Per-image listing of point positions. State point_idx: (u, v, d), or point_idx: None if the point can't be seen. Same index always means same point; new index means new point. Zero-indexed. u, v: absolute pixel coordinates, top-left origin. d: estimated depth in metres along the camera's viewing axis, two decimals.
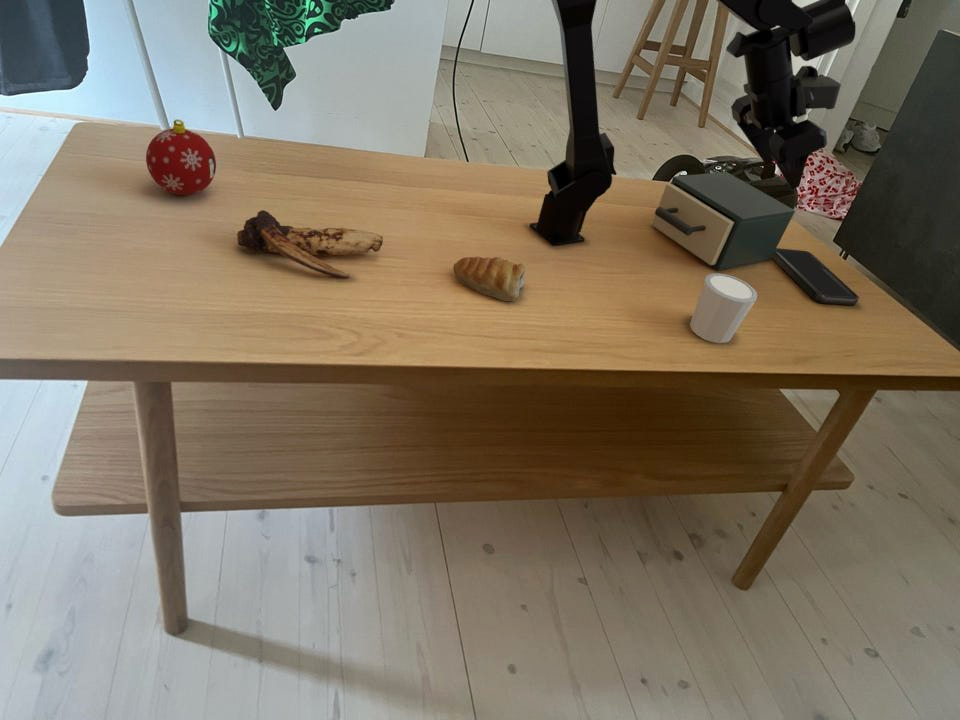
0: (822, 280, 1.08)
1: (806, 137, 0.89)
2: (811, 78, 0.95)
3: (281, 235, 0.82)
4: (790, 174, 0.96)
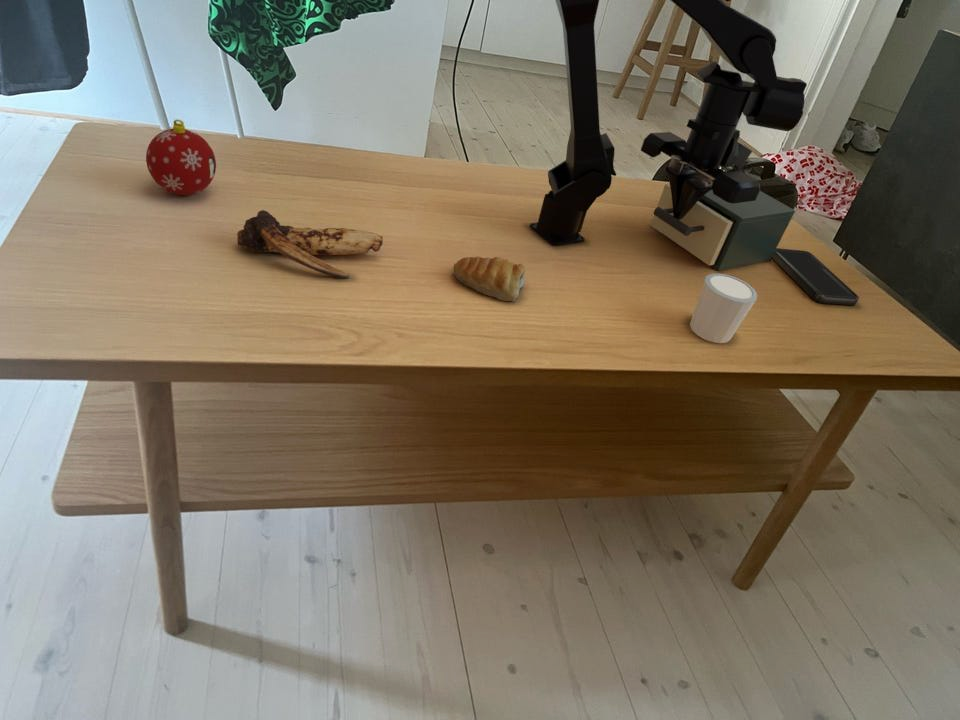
0: (822, 280, 1.08)
1: (751, 186, 0.94)
2: None
3: (281, 235, 0.82)
4: (687, 204, 1.02)
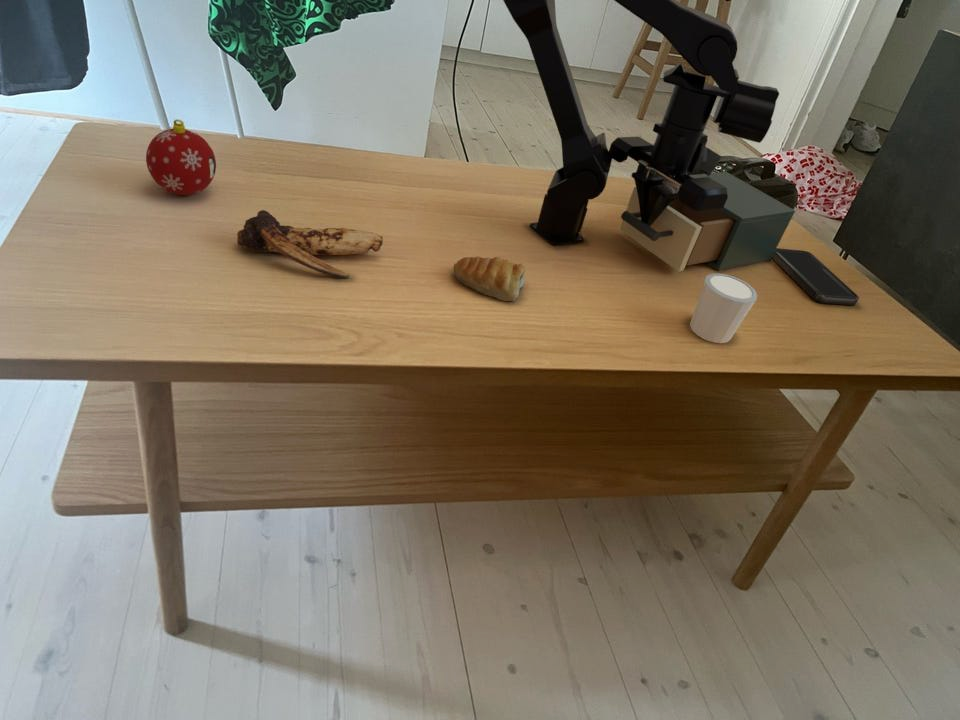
0: (822, 280, 1.08)
1: (719, 193, 0.90)
2: None
3: (281, 235, 0.82)
4: (654, 211, 0.98)
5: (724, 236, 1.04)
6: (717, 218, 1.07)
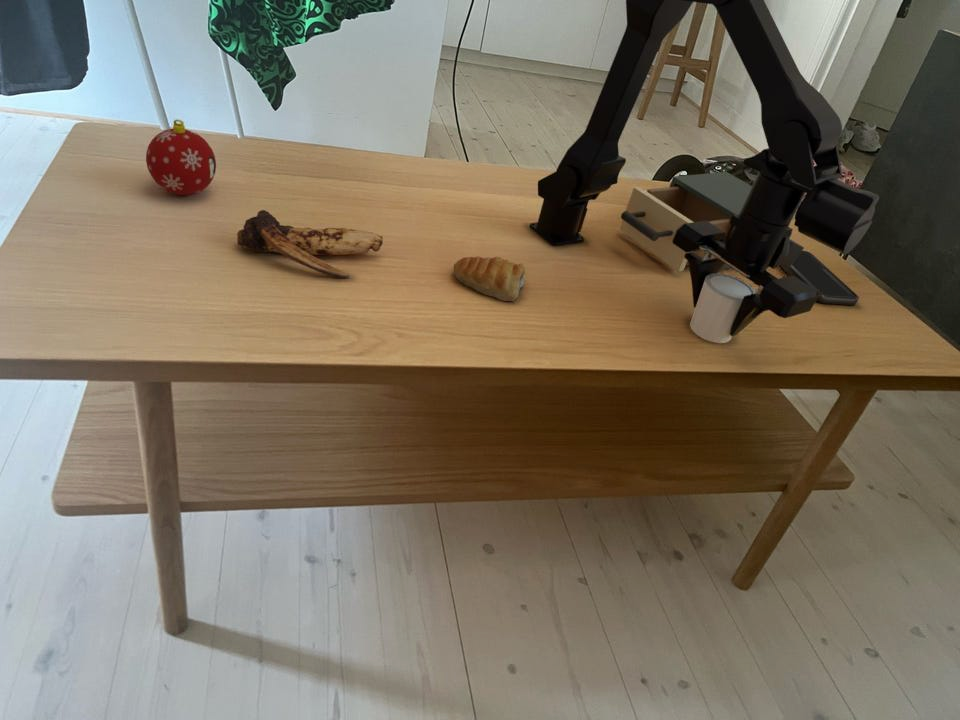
0: (822, 280, 1.08)
1: (808, 297, 0.79)
2: None
3: (281, 235, 0.82)
4: (745, 321, 0.85)
5: None
6: (717, 218, 1.07)
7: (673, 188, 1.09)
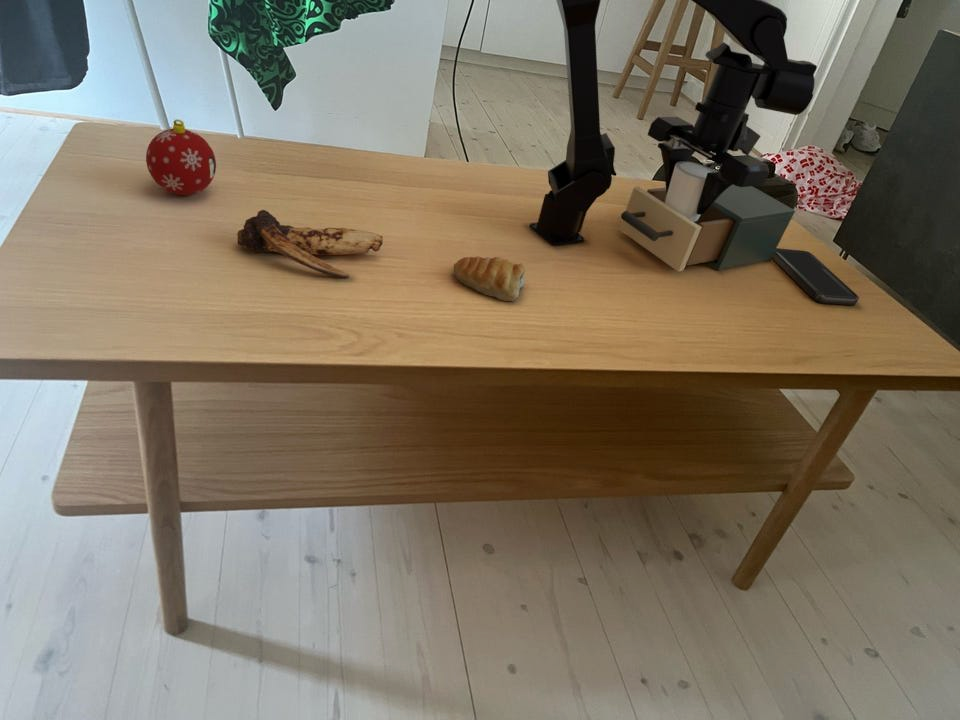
0: (822, 280, 1.08)
1: (760, 169, 0.92)
2: None
3: (281, 235, 0.82)
4: (709, 198, 0.99)
5: (724, 236, 1.04)
6: (717, 218, 1.07)
7: None
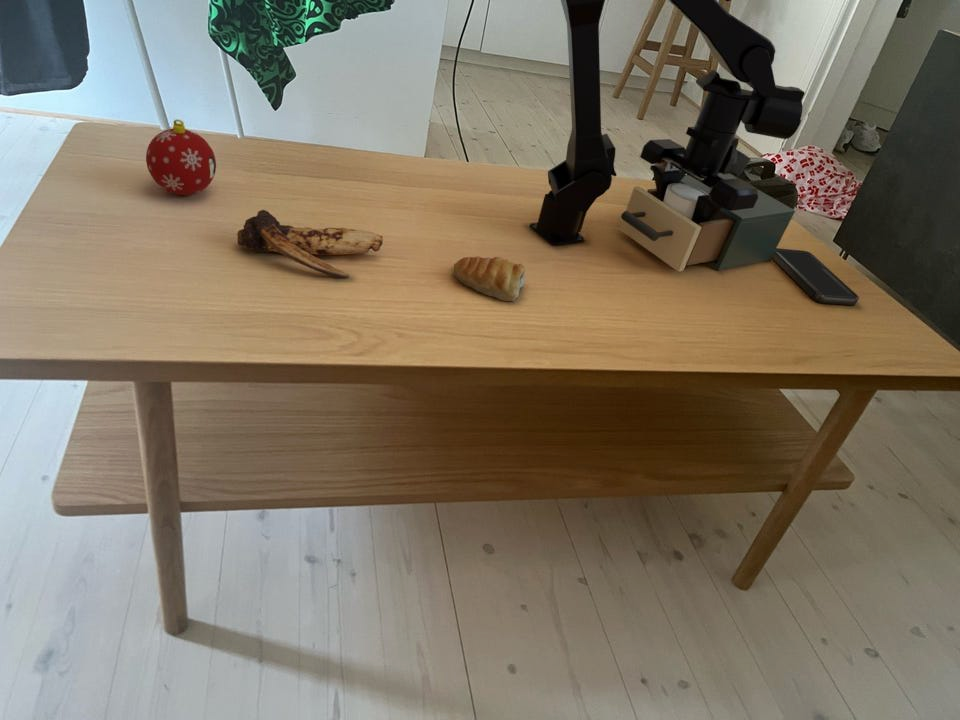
0: (822, 280, 1.08)
1: (750, 193, 0.94)
2: None
3: (281, 235, 0.82)
4: (700, 220, 1.01)
5: (724, 236, 1.04)
6: (717, 218, 1.07)
7: None
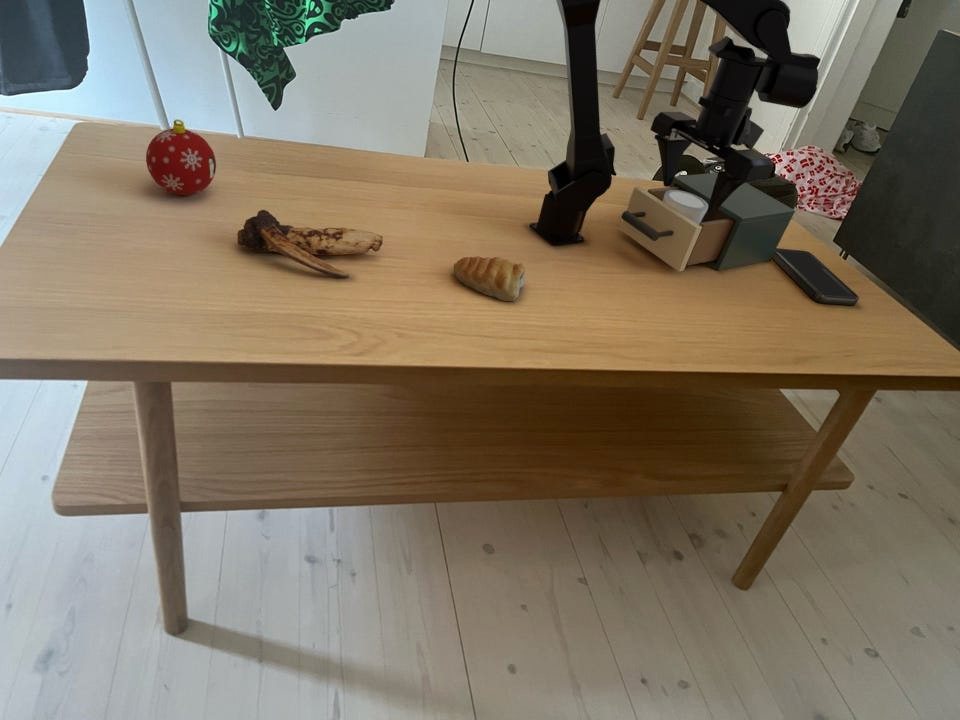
0: (822, 280, 1.08)
1: (764, 163, 0.92)
2: None
3: (281, 235, 0.82)
4: (720, 198, 0.97)
5: (724, 236, 1.04)
6: (717, 218, 1.07)
7: (673, 188, 1.09)
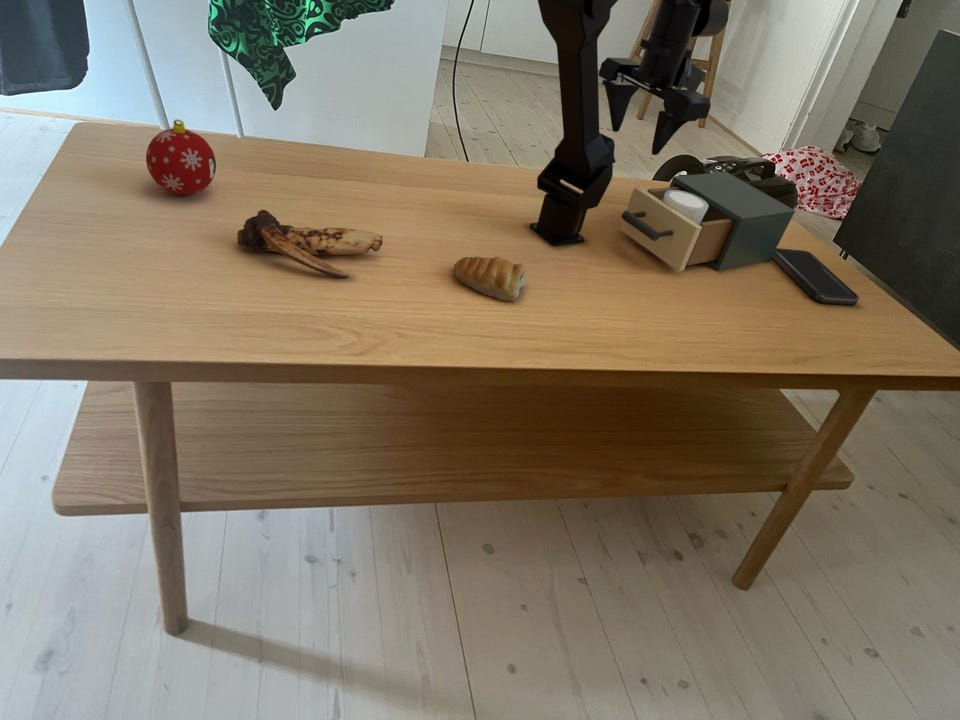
0: (822, 280, 1.08)
1: (702, 102, 0.96)
2: None
3: (281, 235, 0.82)
4: (662, 138, 1.01)
5: (724, 236, 1.04)
6: (717, 218, 1.07)
7: (673, 188, 1.09)
